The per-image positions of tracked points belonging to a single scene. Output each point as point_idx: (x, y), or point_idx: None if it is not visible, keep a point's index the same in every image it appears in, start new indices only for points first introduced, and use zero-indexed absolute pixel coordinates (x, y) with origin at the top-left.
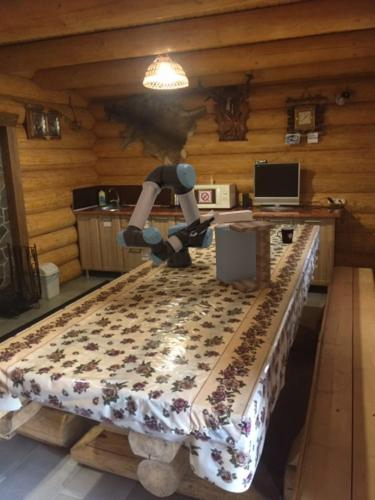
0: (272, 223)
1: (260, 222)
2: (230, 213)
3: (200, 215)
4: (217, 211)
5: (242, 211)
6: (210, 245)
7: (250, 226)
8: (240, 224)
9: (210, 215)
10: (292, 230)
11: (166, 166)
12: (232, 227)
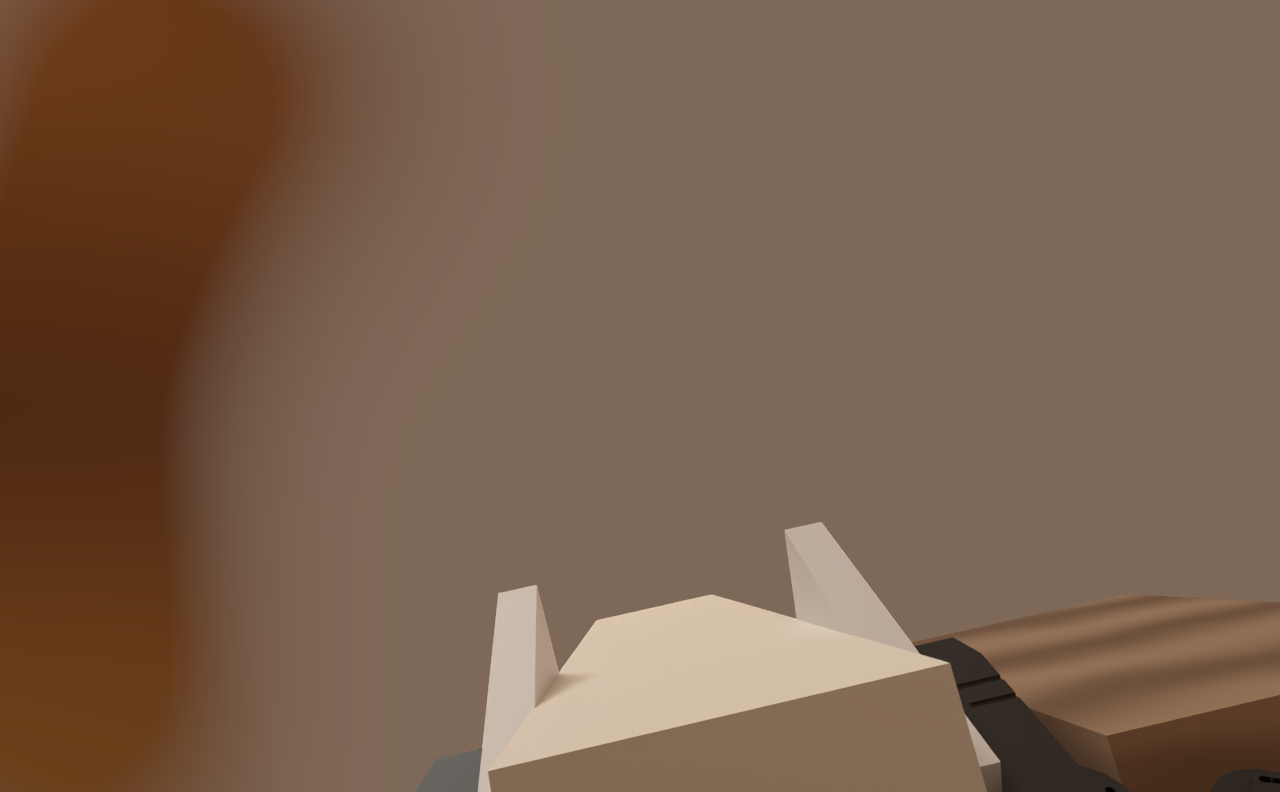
0: (1086, 605)
1: (993, 639)
2: (749, 607)
3: (563, 763)
4: (821, 524)
5: (660, 611)
6: None
7: None
8: (1120, 678)
9: (827, 642)
10: None
11: None
12: (1268, 740)
